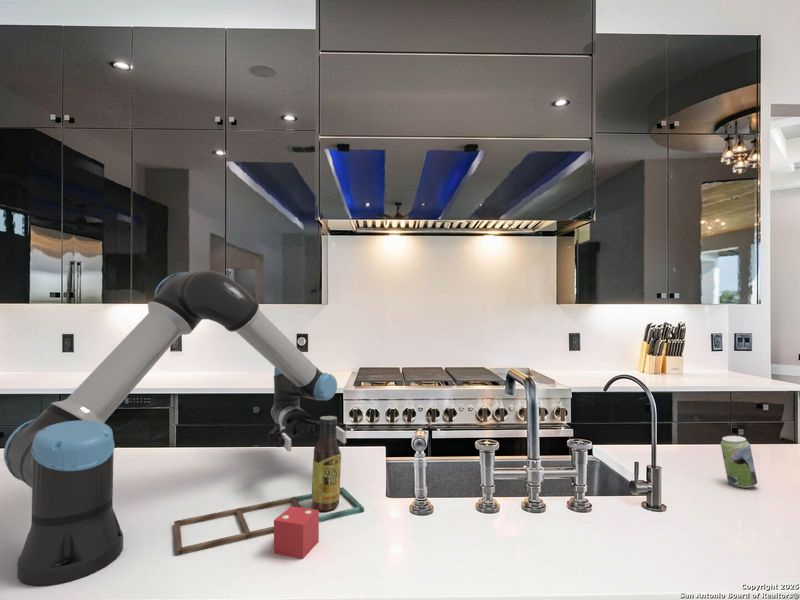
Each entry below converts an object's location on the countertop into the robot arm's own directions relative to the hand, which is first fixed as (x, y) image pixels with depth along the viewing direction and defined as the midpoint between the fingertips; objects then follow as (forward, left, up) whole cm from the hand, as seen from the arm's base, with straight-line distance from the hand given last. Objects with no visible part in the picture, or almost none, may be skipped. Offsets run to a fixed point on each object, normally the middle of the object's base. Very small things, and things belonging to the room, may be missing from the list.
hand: (318, 441), depth 107 cm
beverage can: (+99, +35, -13) cm, 106 cm away
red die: (+7, -23, -13) cm, 27 cm away
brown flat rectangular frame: (-4, -14, -13) cm, 19 cm away
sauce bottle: (+5, -5, -13) cm, 15 cm away
